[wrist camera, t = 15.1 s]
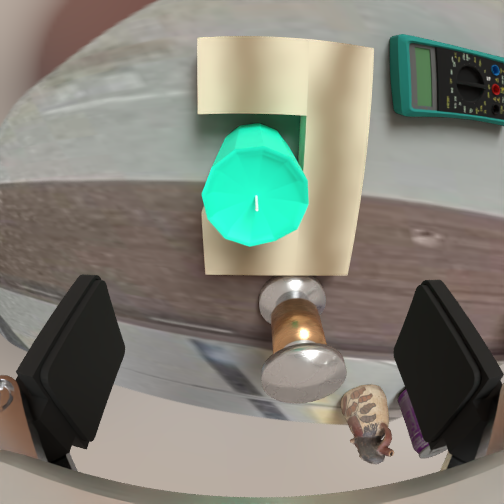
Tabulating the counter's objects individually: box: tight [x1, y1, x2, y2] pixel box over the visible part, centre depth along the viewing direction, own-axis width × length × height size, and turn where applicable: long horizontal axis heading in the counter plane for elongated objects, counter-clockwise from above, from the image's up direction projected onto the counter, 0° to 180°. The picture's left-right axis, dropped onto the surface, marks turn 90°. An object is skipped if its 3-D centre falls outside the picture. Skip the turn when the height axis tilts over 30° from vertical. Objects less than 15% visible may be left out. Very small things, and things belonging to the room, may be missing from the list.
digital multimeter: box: [390, 34, 504, 126], centre depth 21 cm, size 7×15×3 cm, turn 96°
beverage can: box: [398, 389, 448, 458], centre depth 39 cm, size 7×7×12 cm
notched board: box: [197, 36, 374, 275], centre depth 25 cm, size 13×20×3 cm, turn 179°
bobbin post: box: [259, 275, 347, 403], centre depth 29 cm, size 7×7×11 cm
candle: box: [202, 123, 309, 247], centre depth 22 cm, size 6×6×12 cm
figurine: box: [340, 384, 394, 464], centre depth 39 cm, size 7×7×12 cm
